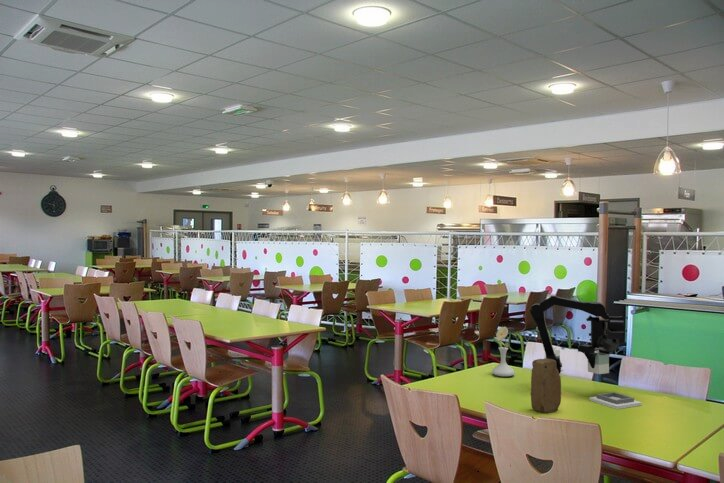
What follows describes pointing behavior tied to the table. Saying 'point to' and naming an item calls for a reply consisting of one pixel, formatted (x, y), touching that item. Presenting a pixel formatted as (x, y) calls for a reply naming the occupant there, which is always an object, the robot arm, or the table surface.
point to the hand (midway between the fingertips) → (598, 367)
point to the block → (545, 386)
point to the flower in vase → (503, 356)
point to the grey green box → (600, 364)
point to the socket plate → (615, 400)
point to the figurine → (557, 353)
